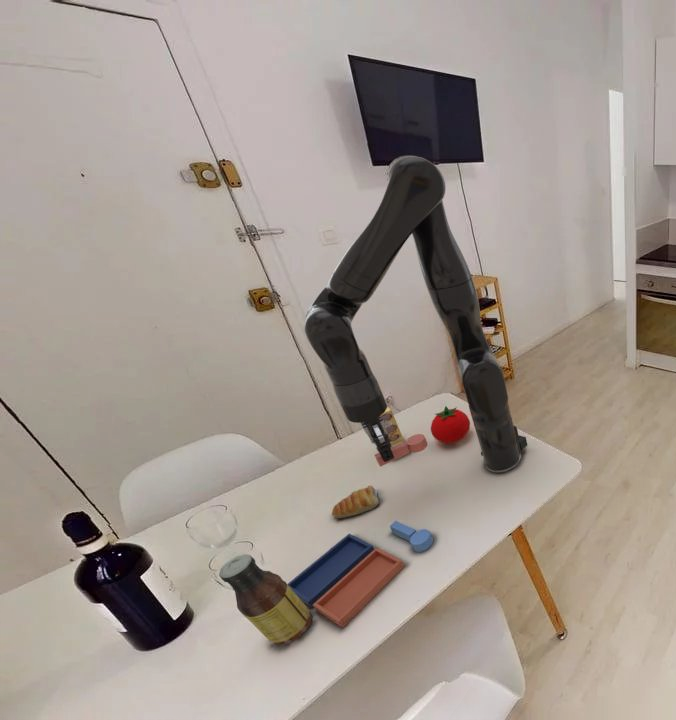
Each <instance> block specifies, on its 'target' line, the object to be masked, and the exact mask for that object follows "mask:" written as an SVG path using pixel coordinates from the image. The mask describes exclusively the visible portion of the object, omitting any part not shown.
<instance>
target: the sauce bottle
mask: <svg viewBox="0 0 676 720" xmlns="http://www.w3.org/2000/svg"><path fill="white" fill-rule="evenodd" d="M218 575H219V577H220V579H221V580H222V581H223V582H224V583H228V585H229V586H230V587H231V588H232V590H233V592H234V594H235V599H236V608H237V610H238V611H239V612H240V613H241V614H242V615H243V616H244V617H245V618H246V619H247V621H249V622H250V623H251V624H252V625H253V626H254V627H255V628H256V629H257V630H258V632H260V633H261V634H262V635H263V636H264V637H265V638H266V639H267V640H268V641H269V642H271V643H273V644H275V645H279V646H283V645H288V644H290V643H292V642H294V641H296V640H297V639H299V638H300V637H301V636H302V635H304V633H305V632H306V631H307V630H308V628H309V627H310V625H311V623H312V619H313V618H312V613H311V611H310V609H309V608H308V607H307V604H305V603H303V602H302V601H301V600H300V598H299V597H298V596H297V595H296V594H295V593H294V591H293V590H292V589H291V588H290V587H289V585H288V583H287V581H285V580H283V579H282V577H281V576H280V575H279V574H277V573H274V572H272V571H270V570H263V569H262V568H260V567H259V566H258V565H257V563H256V560H255V558H254V557H253V556H252V555H250V554H248V553H247V554H245V553H244V554H241V555H237V556H235V557H233V558H232V559H230V560H229V561H227V562H226V563H225V564H224V565H222V566H221V568H220V569H219V574H218Z"/></svg>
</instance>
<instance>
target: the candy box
mask: <svg viewBox="0 0 676 720" xmlns="http://www.w3.org/2000/svg"><path fill="white" fill-rule="evenodd" d="M386 404H387V409H386V411H385V412H384V413H383V414H382V415H381V417H382V419H383V420H384V422H385V424H386V426H385V428H386V430H387V432H388V435H389V437H388V438H389V441H390V443H391V447H393V446H396V445H398V444H400V443H402V442H405V443H406V441H405V439H404V437H403V435H402V432H401V430H400V427H399V425H398V422H397V420H396V417H395V415H394V413H393V411H392V409H391V407H390V406H389V405H388V403H387V402H386Z"/></svg>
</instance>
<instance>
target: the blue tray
mask: <svg viewBox="0 0 676 720" xmlns="http://www.w3.org/2000/svg"><path fill="white" fill-rule="evenodd" d="M374 549H375V548H374V546H373V545H372V544H371V543H369V542H367V541H366V540H363V539H362V538H359V537H357V536H356V535H353V534H351V533H348V534H346V536H344V537H343V538H342V539H340V540H339V541H338V542H337V543H336V544H335V545H333V546H332V547H330V548H329V549H328V550H327V551H325V552H324V553H323V554H322V555H321V556H320V557H318V558H317V559H315V561H314V562H312V563H311V564H310V565H309V566H308V567H306V568H305V569H304V570H303V571H301V572H300V573H299V574H297V575H296V576H295V577H294V578H293V579H292V580H290V581H289V582H288V583H287V584H288V585H289V587H290V588H291V589H292V590H293V591H294V593H295V594H296V595H297V596H298V597H299V598H300V600H301V601H302V602H303V603H304V604H305V605H306V606H308V607H309V608H311V609H313V608H314V607H313V604H314V603H315V602H316V601H317V600H319V599H320V598H321V597H322V596H323V595H324V594H325V593H326V592H328V591H329V590H330V589H331V588H332V587H333V586H334V585H335V584H336V583H338V582H339V581H340V580H341V579H342V578H343V577H344V576H345V575H346V574H348V573H349V572H350V571H351V570H352V569H353V568H354V567H355V566H357V565H358V564H359V563H360V562H361V561H362V560H363V559H364V558H365V557H367V556H368V555H369V554H370V553H371V552H372V551H373V550H374Z"/></svg>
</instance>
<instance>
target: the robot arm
mask: <svg viewBox="0 0 676 720" xmlns="http://www.w3.org/2000/svg"><path fill="white" fill-rule="evenodd" d="M386 181H387V186H386V189H385V192H384V195H383V197H382V200H381V202H380V204H379V206H378V208H377V210H376V212H375V213H374V215H373V217H372V218H371V220H370V221H369V222H368V224H367V225H366V226H365V228H364V229H363V230H362V231H361V233H360V234H359V236H357V238H356V239H355V240H354V242H352V244H351V245H350V246H349V248H348V249H347V250H346V252H345V254H344V255H343V256H342V258H341V259H340V261H339V263H338V264H337V266H336V267H335V269H334V270H333V272H332V275H331V276H330V278H329V280H328V283H327V284H326V285H325V286H324V287H323V289H322V290H321V291H320V293H318V295H317V296H316V297H315V299H314V300H313V302H312V304H311V305H310V306H309V308H308V310H307V311H306V313H305V314H306V315H305V319H304V324H303V330H304V334H305V336H306V339H307V340H308V342H309V345H310V346H311V348H312V349H313V351H314V353H315V354H316V355H317V357H318V358H319V360H320V361H321V362H322V364H323V365H324V368H325V371H326V373H327V375H328V377H329V380H330V382H331V384H332V387H333V390H334V394H335V396H336V398H337V400H338V402H339V404H340V406H341V409H342V411H343V413H344V415H345V417H346V419H347V421H349V422H351V423H355V424H360V425H361V428H363V431H364V433H365V434H366V435H367V437H368V439H369V440H370V442H371V444H374V445H375V449H376V450H377V452H378V453H380V455H381V457H382V459H383V461H384V462H387V461H389V460H391V459H393V458H394V455H393V453H392V450H391V443H390V441H389V438H388V437H389V435H388V432H387V430H386V428H385V426H386V424H385V422H384V420H383V419H382V417H381V415H382V414H383V413H384V412H385V411H386V409H387V405H388V403H387V401H386V399H385V396H384V394H383V391H382V389H381V387H380V383H379V382H378V380H377V378H376V376H375V374H374V372H373V370H372V368H371V366H370V363H369V361H368V359H367V357H366V354H365V352H364V351H363V350H362V349H361V348H360V347H359V344H358V341H357V339H356V337H355V334H354V331H353V326H352V323H353V320H354V318H355V316H356V314H357V313H358V312H359V310H360V308H361V307H362V305H363V304H366V303H367V302H368V301H369V300H370V299H371V298H372V296H373V295H374V293H375V292H376V291H377V289H378V288H379V285H380V284H381V283H382V281H383V279H384V278H385V276H386V275H387V273H388V271H389V270H390V267H392V264H393V262H394V261H395V260H396V257H397V256H398V254H399V253H400V251H401V249H402V248H403V247H404V245H405V243H406V242H407V240H408V239H409V238H410V237H411V236H412V238H413V243H414V248H415V251H416V256H417V259H418V264H419V268H420V271H421V274H422V277H423V280H424V283H425V287H426V289H427V292H428V294H429V297H430V300H431V302H432V305H433V307H434V309H435V312H436V313H437V315H438V317H439V319H440V321H441V323H442V324H443V326H444V328H445V329H446V331H447V333H448V335H449V337H450V340H451V343H452V347H453V351H454V355H455V360H456V364H457V370H458V374H459V377H460V380H461V384H462V387H463V390H464V395H465V398H466V401H467V404H468V409H469V413H470V415H471V420H472V422H473V427H474V430H475V433H476V436H477V440H478V444H479V447H480V450H481V451H480V455H481V457H482V458H483V461H484V466H485V468H486V470H487V471H488V472H491V473H493V474H503V473H506V472H509V471H511V470H513V469H514V468H515V467H517V466H518V465H519V463H520V462H521V458H522V455H523V450H524V449H525V448H527V446H528V440H527V437H526V436H523V435H519V431H518V427H517V426H516V425H514V421H513V418H512V414H511V413H512V412H511V409H510V404H509V394H508V390H507V384H506V379H505V375H504V372H503V368H502V366H501V365H500V362H499V361H498V359H497V357H496V355H495V354H494V351H492V348H491V346H490V344H489V342H488V339H487V337H486V334H485V332H484V329H483V326H482V319H481V308H480V302H479V297H478V293H477V289H476V286H475V283H474V280H473V276H472V273H471V271H470V268H469V265H468V263H467V261H466V259H465V256H464V254H463V252H462V250H461V248H460V246H459V245H458V243H457V241H456V239H455V237H454V235H453V232H452V230H451V227H450V225H449V222H448V218H447V214H446V210H445V206H444V202H443V200H444V197H445V194H446V189H447V188H446V181H445V178H444V176H443V173H442V172H441V170H440V169H439V168H438V167H437V166H436V165H435V164H434V163H433V162H431V161H430V160H428V159H426V158H424V157H421V156H416V155H411V154H410V155H408V154H405V155H400V156H398V157H396V158H395V159H394V160H392V162H391V163H390V164H389V166H388V168H387V171H386ZM386 403H387V404H386Z"/></svg>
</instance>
